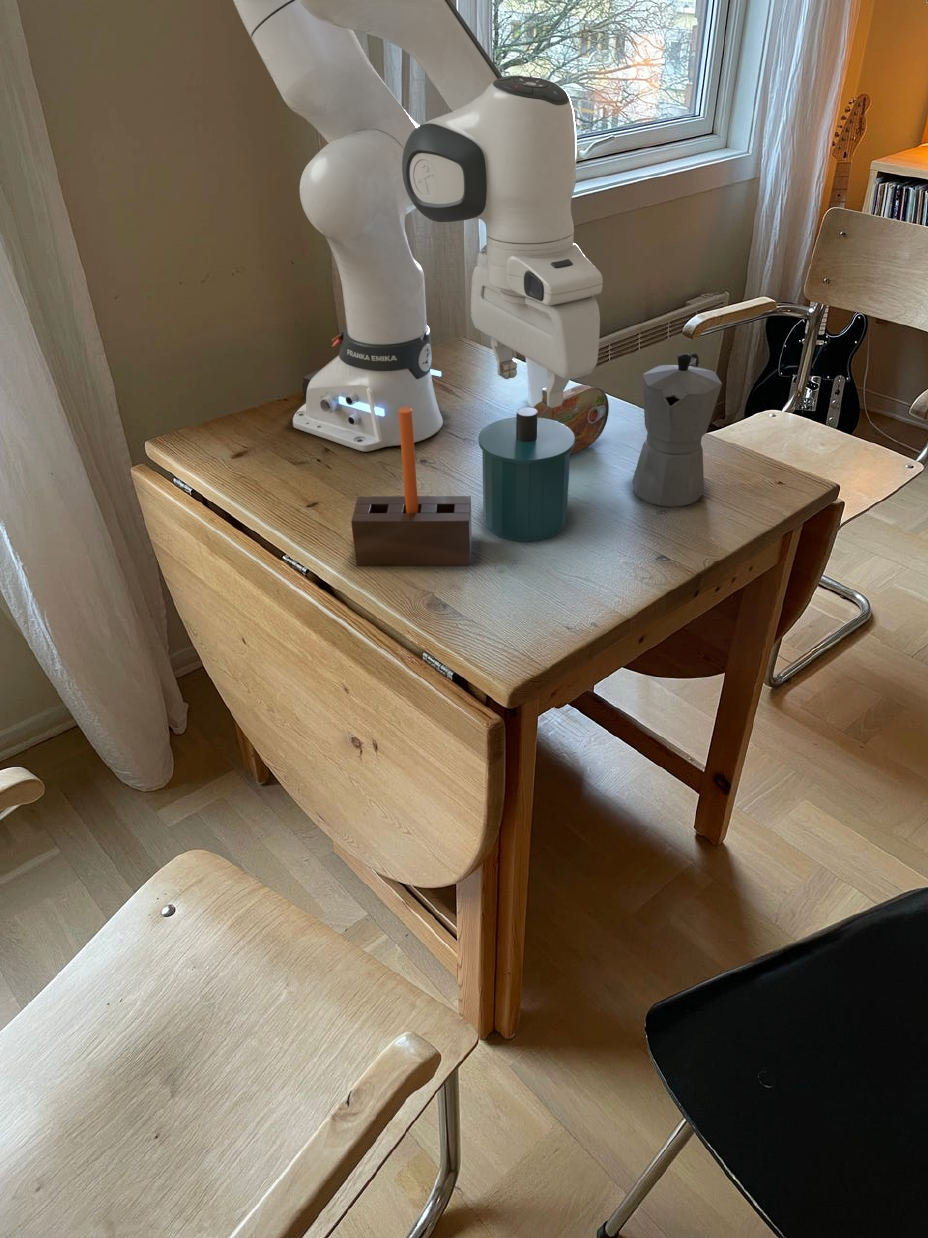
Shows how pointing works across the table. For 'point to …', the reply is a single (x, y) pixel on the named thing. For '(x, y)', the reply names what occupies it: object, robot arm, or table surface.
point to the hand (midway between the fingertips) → (529, 390)
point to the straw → (408, 459)
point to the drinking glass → (535, 382)
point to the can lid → (526, 438)
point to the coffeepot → (675, 432)
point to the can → (525, 498)
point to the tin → (580, 414)
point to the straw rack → (412, 531)
